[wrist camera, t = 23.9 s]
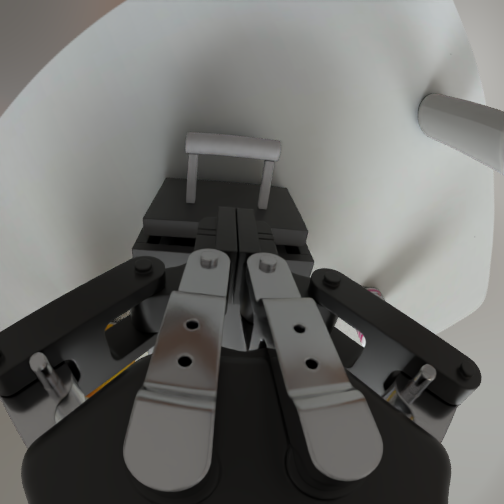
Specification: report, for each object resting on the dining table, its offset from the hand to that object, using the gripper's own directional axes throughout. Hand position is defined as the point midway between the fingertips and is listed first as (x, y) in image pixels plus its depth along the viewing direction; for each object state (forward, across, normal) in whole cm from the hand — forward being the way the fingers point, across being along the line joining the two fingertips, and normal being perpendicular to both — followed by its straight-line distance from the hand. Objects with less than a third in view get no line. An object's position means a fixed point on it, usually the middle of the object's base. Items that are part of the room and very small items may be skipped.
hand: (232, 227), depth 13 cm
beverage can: (+14, -19, -8) cm, 25 cm away
